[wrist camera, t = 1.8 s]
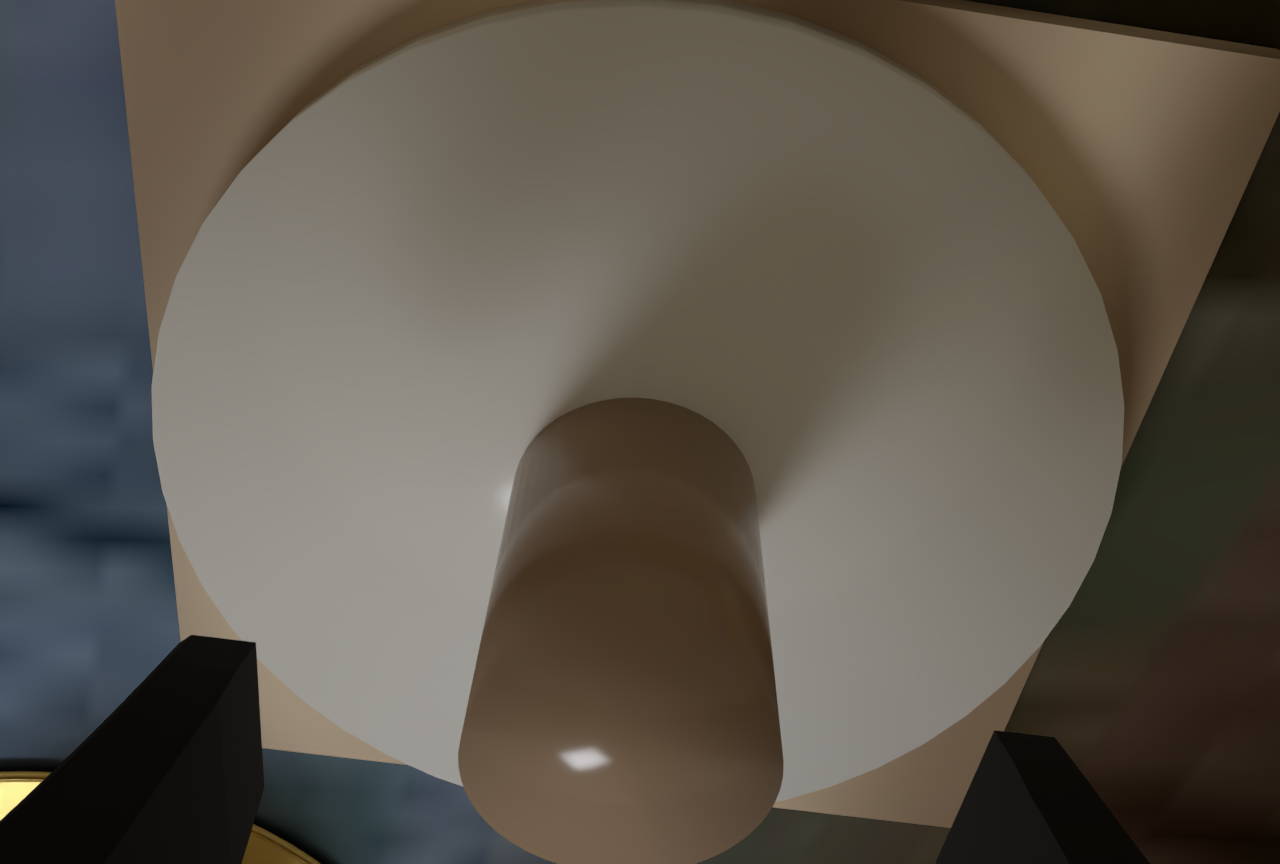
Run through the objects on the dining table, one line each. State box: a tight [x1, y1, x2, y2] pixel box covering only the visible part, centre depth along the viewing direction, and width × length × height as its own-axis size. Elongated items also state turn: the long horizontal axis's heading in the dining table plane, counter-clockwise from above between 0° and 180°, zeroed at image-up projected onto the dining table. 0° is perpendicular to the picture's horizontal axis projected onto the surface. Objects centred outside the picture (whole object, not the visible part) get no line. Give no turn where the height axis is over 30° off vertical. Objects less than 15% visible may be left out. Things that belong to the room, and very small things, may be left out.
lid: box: [152, 0, 1124, 864], centre depth 13 cm, size 12×12×5 cm
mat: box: [115, 0, 1280, 828], centre depth 16 cm, size 13×13×1 cm
